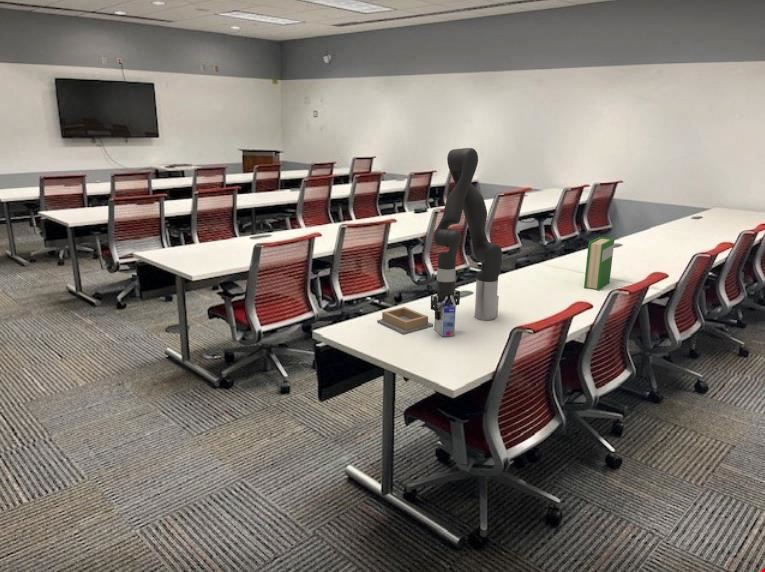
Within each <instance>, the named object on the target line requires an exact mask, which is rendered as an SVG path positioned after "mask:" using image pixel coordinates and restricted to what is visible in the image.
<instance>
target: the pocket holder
mask: <svg viewBox="0 0 765 572" xmlns="http://www.w3.org/2000/svg"><path fill="white" fill-rule="evenodd" d="M377 322H378V323H377ZM376 323H377V324H379V323H380V325H381V326H384V327H385V328H389V329H390V330H392V331H394V330H395V331H394V332H397V333H398V334H401V335H408V334H411V333H415V332H419V331H422V330H425V328H426V329H428V327H429V328H432V327H431V326H433V327H434V323H431V322H429V316H428V315H426V314H424V313H421V312H419V311H416V310H413V309H411V308H408V307H406V306H402V307H397V308H394V309H390V310H389V309H388V310H386V311H382V313H381V318H380V319H377V321H376ZM414 331H415V332H414Z"/></svg>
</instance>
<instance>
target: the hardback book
mask: <svg viewBox="0 0 765 572" xmlns="http://www.w3.org/2000/svg"><path fill="white" fill-rule="evenodd" d="M615 240H616V239H615V238H613V237H606V236H599V237H596V238H595V239H592V240H591V241H589V242H588V244H587V245H588V246H587V254H586V265H585V275H584V284H583V289H587V288H589V289H595V290H596V291H597V292H599V291H600V290H602V289H603V288H605V287H606V286H608V285H609V284H610V282H611V272H612V266H613V256H614V248H615V247H614V246H615Z"/></svg>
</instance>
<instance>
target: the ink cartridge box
mask: <svg viewBox="0 0 765 572" xmlns="http://www.w3.org/2000/svg"><path fill="white" fill-rule="evenodd" d="M450 301H451V299H449V302H448V303H446V304H444V306H443V307H442V308H441V310H440V320H436V319H435V318H434V323H433V328H434V329H433V330H435V331H436V332H437V333H438V334H439V335H440V336H441V337H443V338H444V337H455V330H456V329H455V328H456V327H455V326H456V325H455V324H456V309H457V306H456V307H454V306H453V305H452V304H450ZM439 303H440V302H439ZM440 304H441V303H440ZM438 307H439V306H438Z"/></svg>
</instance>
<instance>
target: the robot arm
mask: <svg viewBox="0 0 765 572" xmlns="http://www.w3.org/2000/svg"><path fill="white" fill-rule="evenodd" d="M446 158H447V167H448V170H449V172H450V175H451V178H452V180H453V182H454V185H455V186H454V187H453V189H452V190H451V192H450V193H449V194H448V196H447V198H446V201H445V204H444V209H443V214H442V216H441V219H440V222H439V223H438V225H437V227H436V229H435V231H434V234H433V242H434V244H435V245H436V246H437V247H444V248H449V249H448V251H442V252H439V253H438V255H437V268H436V269H437V270H436V284H435V285H436V291H437V293H436V295H433V294H432V295H431V296H430V310H432V311H434V320H435V319H436V320H440V310H441V308H442V307H443V306H444V304H446V303H448V302H449V299H451V301H450V304H452V305H453V306H454V307H456V308H457V306H459V305H460V300H461V291H460V290H457V289H456V284H457V283H456V280H457V279H456V278H457V277H456V276H457V273H456V271H457V269H456V265H457V264H456V262H457V261H456V260H457V254H458V251H459V247H460V244H461V243H462V241H461V240H462V235H461V232H460V230H458V229H455V228H453V229H452V228H449V227H450V226H452V225H458V224H460V222H461V218H462V214H463V213H464V214H463V215H464V217H465V221H466V224H467V228H468V232H469V235H470V241H471V246H472V252H473V255H474V258H475V260H476V261H478V262H480V263H483V269H482V270H479V271H477V272H476V277H475V278H476V282H475V298H474V299H475V302H474V303H475V304H474V318H476V319H478V320H482V321H491V320H492V321H493V320H495V319H496V318H497V317H498V312H499V297H500V296H499V295H498V286H499V276H500V274H501V270H502V260H503V250H502V248H501V246H500V245H499V244H497V243H495V242H494V243H493V242H490V241H489V239H488V238H487V235H486V230H485V228H486V223H487V219H488V209H487V205H486V201H485V198H484V196H483V195H482V194H481V193H480V191H479V190H478V189H477V188H476V187H475V186H474V185H473V183H472V181H473V179H474V176H475V174H476V171H477V167H478V165H479V154H478V152H477V151H476V149H474V148H473V147H463V148H454V149H451V150H450V151H448V154H447V157H446ZM439 302H440V303H441V304H440V303H439ZM438 306H439V307H438Z"/></svg>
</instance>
